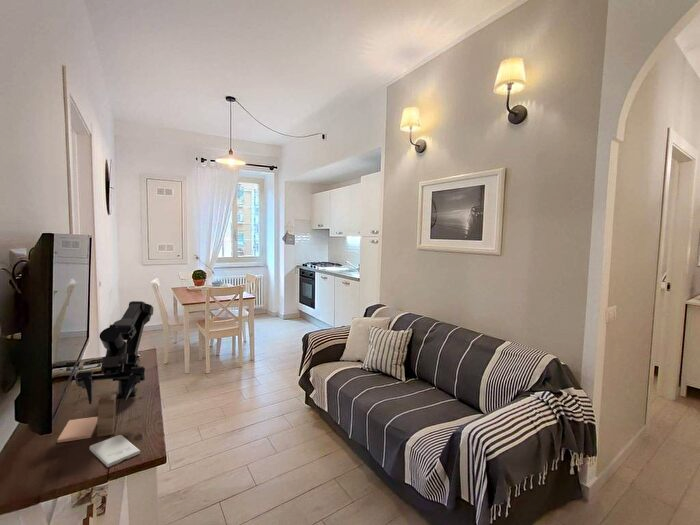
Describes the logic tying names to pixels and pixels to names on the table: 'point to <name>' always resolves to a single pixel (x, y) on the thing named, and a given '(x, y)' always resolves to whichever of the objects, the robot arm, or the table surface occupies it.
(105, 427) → the brown rectangular block
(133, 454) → the external hard drive
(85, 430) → the terracotta mat
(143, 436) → the table surface
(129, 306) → the robot arm
